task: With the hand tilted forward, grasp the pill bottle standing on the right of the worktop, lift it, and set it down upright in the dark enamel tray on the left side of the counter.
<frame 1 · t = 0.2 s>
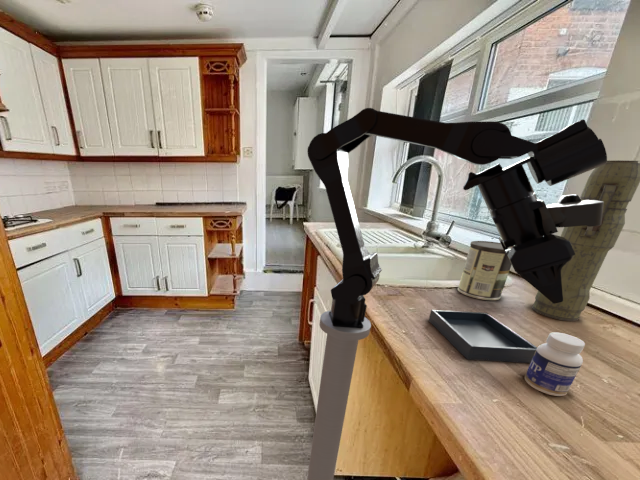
hand: (551, 292, 48), 15 cm above the countertop, tool tilted 35°, fingers open, 9 cm apart
stone statue: (554, 313, 76), on the countertop
pill bottle: (543, 386, 49), on the countertop
coffee can: (477, 293, 87), on the countertop
tray: (475, 339, 63), on the countertop
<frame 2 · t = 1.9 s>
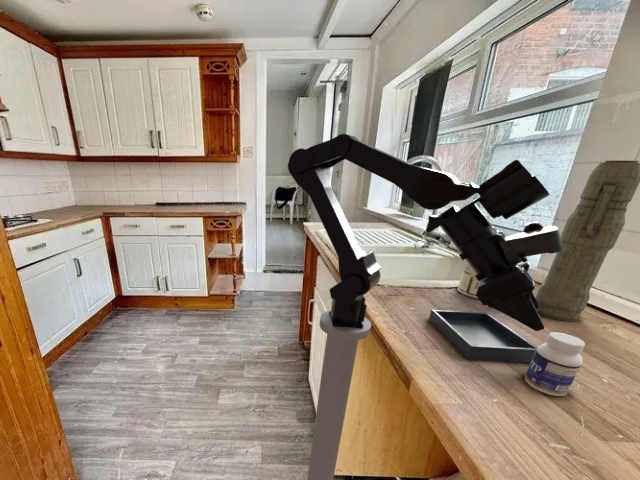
hand: (538, 318, 48), 11 cm above the countertop, tool tilted 45°, fingers open, 9 cm apart
nothing on the countertop moved.
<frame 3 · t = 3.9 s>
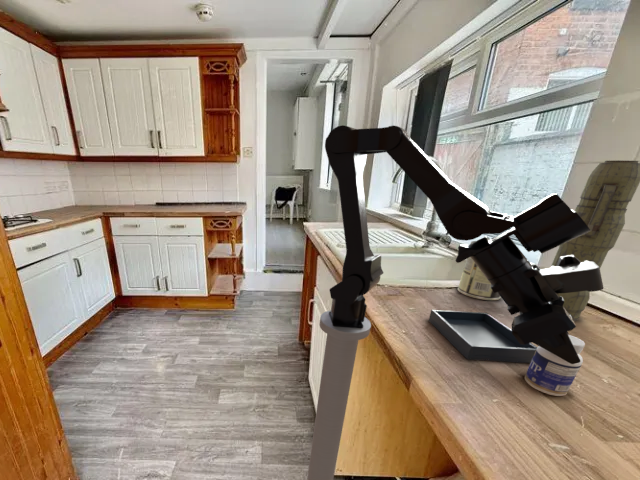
hand: (573, 354, 46), 7 cm above the countertop, tool tilted 45°, fingers closed on pill bottle, 5 cm apart
pill bottle: (543, 386, 49), on the countertop, touching gripper
everything else where it was.
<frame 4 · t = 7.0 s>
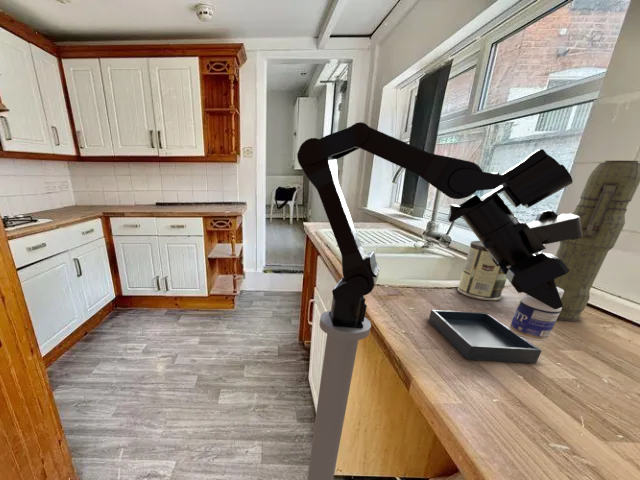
hand: (552, 301, 50), 12 cm above the countertop, tool tilted 45°, fingers closed on pill bottle, 5 cm apart
pill bottle: (526, 335, 54), point 6 cm above the countertop, touching gripper
everything else where it was.
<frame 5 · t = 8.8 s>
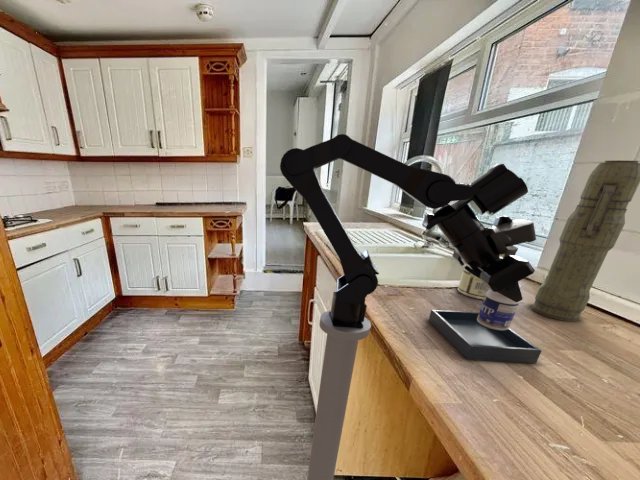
hand: (511, 295, 58), 10 cm above the countertop, tool tilted 45°, fingers closed on pill bottle, 5 cm apart
pill bottle: (491, 325, 61), point 4 cm above the countertop, touching gripper
everything else where it was.
when the fingers open (8 cm above the countertop, at t = 10.1 s): pill bottle stays where it is, resting on tray.
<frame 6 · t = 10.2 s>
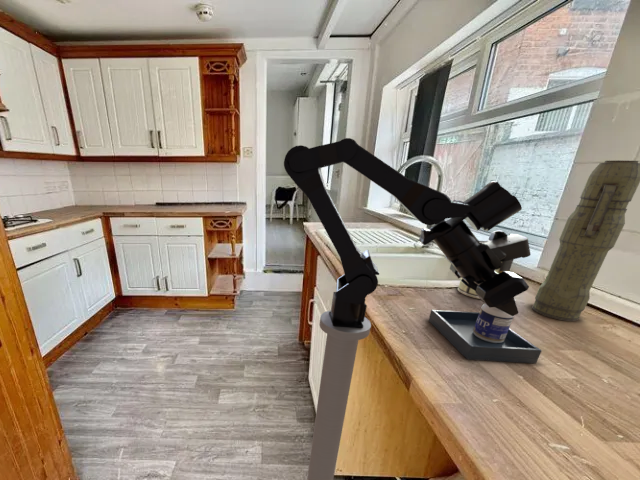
hand: (508, 308, 59), 8 cm above the countertop, tool tilted 45°, fingers open, 5 cm apart
pill bottle: (487, 337, 62), point 1 cm above the countertop, touching tray
everything else where it was.
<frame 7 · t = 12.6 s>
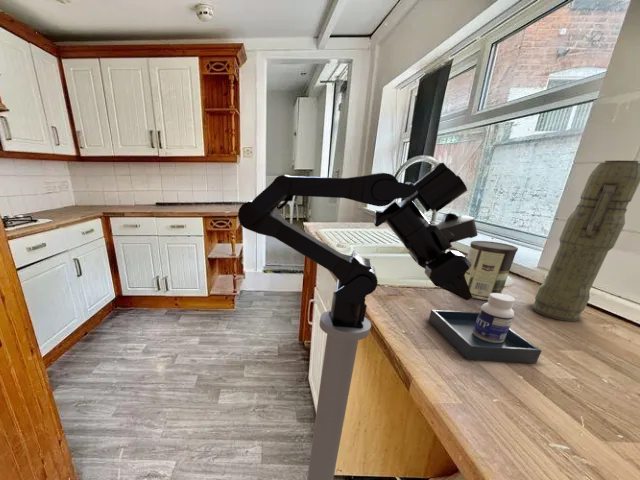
hand: (460, 289, 60), 10 cm above the countertop, tool tilted 45°, fingers open, 9 cm apart
nothing on the countertop moved.
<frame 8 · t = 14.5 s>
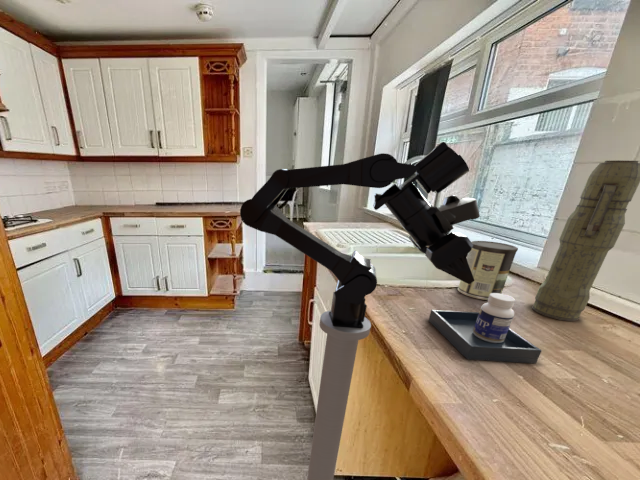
hand: (462, 274, 58), 14 cm above the countertop, tool tilted 45°, fingers open, 9 cm apart
nothing on the countertop moved.
at the end: pill bottle inside the target area in the tray (1.8 cm from its centre), point 0.8 cm above the tray's base; pill bottle tilted 0°; the gripper is holding nothing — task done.
